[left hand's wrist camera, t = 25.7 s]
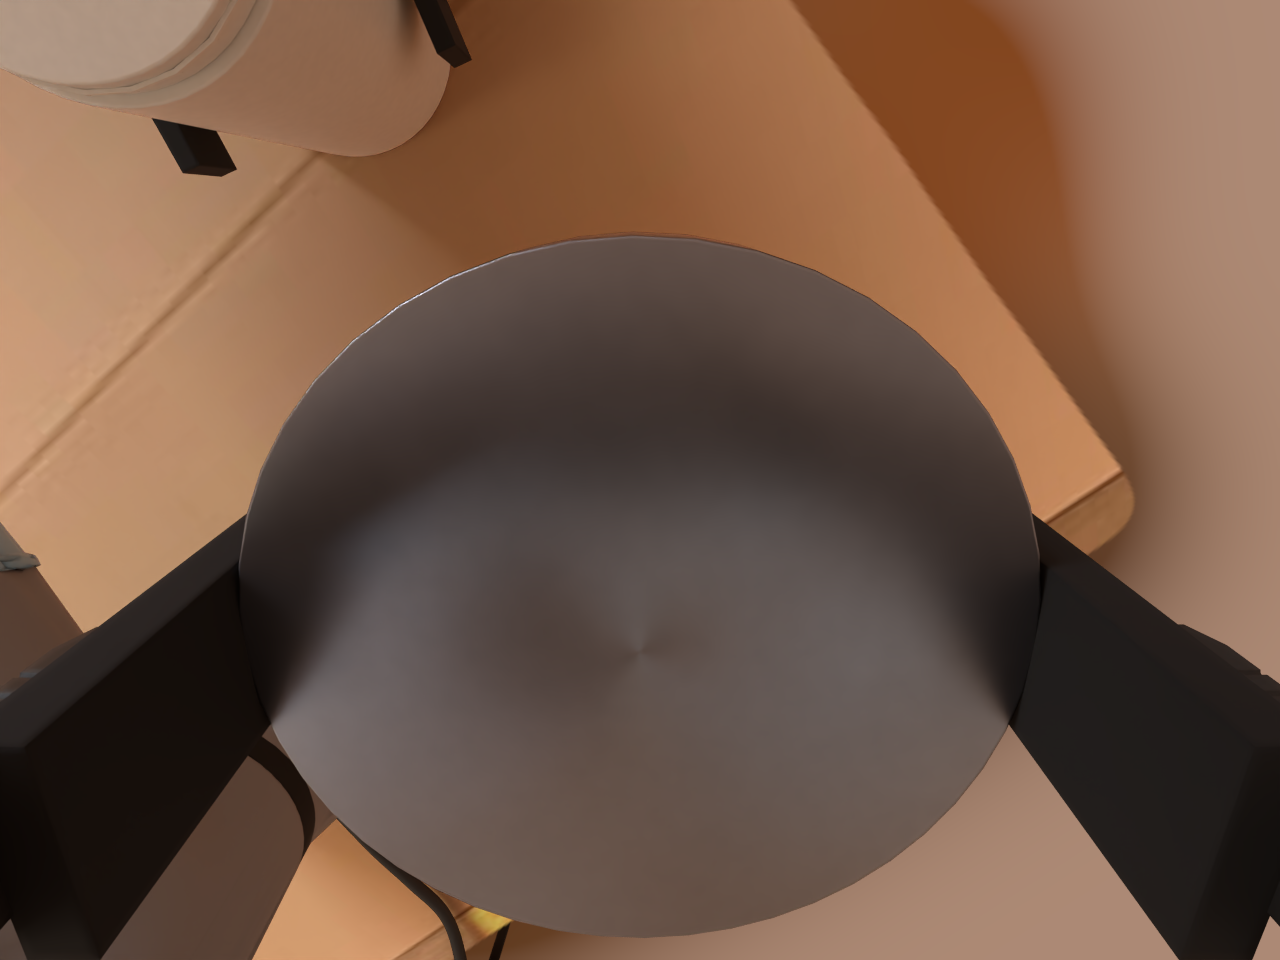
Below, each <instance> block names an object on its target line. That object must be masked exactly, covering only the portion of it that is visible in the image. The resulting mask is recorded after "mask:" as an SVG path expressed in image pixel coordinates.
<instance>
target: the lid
mask: <svg viewBox="0 0 1280 960" xmlns="http://www.w3.org/2000/svg"><path fill="white" fill-rule="evenodd" d="M1040 604H1041V590H1040V556H1039V549H1038V544H1037V539H1036V533H1035V528H1034V522H1033V517H1032V512H1031V506H1030V503H1029V500H1028V498H1027V495H1026V492H1025V489H1024V486H1023V484H1022V481H1021V478H1020V475H1019V472H1018V469H1017V467H1016V464H1015V461H1014V458H1013V456H1012V455H1011V453H1010V451H1009V449H1008V447H1007V445H1006V444H1005V442H1004V440H1003V438H1002V436H1001V434H1000V432H999V431H998V429H997V427H996V425H995V423H994V421H993V420H992V418H991V416H990V414H989V412H988V411H987V410H986V409H985V407H984V406H983V405H982V403H981V402H980V401H979V399H978V398H977V397H976V395H975V394H974V393H973V391H972V390H971V389H970V388H969V386H968V385H967V384H966V382H965V381H964V380H963V378H962V377H961V376H960V374H959V373H958V372H957V371H956V369H954V368H953V367H952V366H951V365H950V364H949V363H948V362H947V361H946V360H945V359H944V358H943V357H942V356H941V355H940V354H939V353H938V352H937V351H936V350H935V349H934V348H933V347H932V346H931V345H930V344H929V343H928V342H926V341H925V340H924V339H923V338H922V337H921V336H920V335H919V334H918V333H917V332H916V331H915V330H913V329H912V328H911V327H909V326H908V325H906V324H905V323H904V322H902V321H901V320H899V319H898V318H897V317H895V316H894V315H892V314H891V313H889V312H888V311H887V310H885V309H884V308H882V307H881V306H880V305H878V304H877V303H875V302H874V301H873V300H871V299H870V298H868V297H866V296H864V295H862V294H861V293H859V292H857V291H855V290H853V289H851V288H849V287H847V286H845V285H843V284H841V283H839V282H837V281H835V280H833V279H831V278H829V277H827V276H825V275H823V274H821V273H820V272H818V271H816V270H813V269H810V268H807V267H804V266H801V265H798V264H796V263H793V262H790V261H787V260H784V259H781V258H778V257H775V256H772V255H769V254H766V253H764V252H761V251H758V250H755V249H751V248H748V247H745V246H742V245H738V244H733V243H728V242H723V241H718V240H712V239H707V238H702V237H697V236H692V235H686V234H667V233H649V232H624V233H612V234H600V235H589V236H579V237H575V238H570V239H566V240H561V241H557V242H553V243H548V244H544V245H539V246H535V247H531V248H527V249H524V250H520V251H517V252H514V253H510V254H507V255H505V256H502V257H500V258H497V259H494V260H492V261H489V262H486V263H484V264H481V265H479V266H476V267H473V268H471V269H468V270H465V271H463V272H460V273H458V274H455V275H452V276H450V277H448V278H446V279H445V280H443V281H441V282H439V283H437V284H436V285H434V286H432V287H430V288H428V289H427V290H425V291H423V292H421V293H419V294H418V295H416V296H414V297H412V298H410V299H409V300H407V301H405V302H403V303H401V304H400V305H398V306H397V307H396V308H394V309H393V310H392V311H390V312H389V313H388V314H386V315H385V316H384V317H382V318H381V319H380V320H379V321H377V322H376V323H375V324H373V325H372V326H371V327H369V328H368V329H367V330H365V331H364V332H363V333H362V334H360V335H359V336H358V337H356V338H355V339H354V340H353V341H352V342H351V343H350V344H349V345H348V346H347V347H346V348H345V349H344V350H343V351H342V352H341V353H340V354H339V355H338V356H337V357H336V358H335V359H334V360H333V361H332V362H331V363H330V364H329V365H328V366H327V367H326V369H325V370H324V371H323V372H322V373H321V374H320V375H319V376H318V377H317V378H316V379H315V380H314V381H313V383H312V384H311V386H310V387H309V388H308V390H307V391H306V393H305V394H304V395H303V397H302V398H301V400H300V401H299V402H298V404H297V405H296V407H295V408H294V410H293V411H292V412H291V414H290V415H289V417H288V418H287V419H286V421H285V422H284V424H283V426H282V428H281V430H280V432H279V434H278V436H277V438H276V440H275V442H274V444H273V446H272V448H271V450H270V452H269V454H268V456H267V458H266V460H265V462H264V464H263V466H262V468H261V471H260V474H259V477H258V480H257V483H256V486H255V490H254V493H253V496H252V499H251V502H250V506H249V509H248V512H247V515H246V520H245V527H244V533H243V540H242V547H241V553H240V560H239V615H240V620H241V625H242V630H243V635H244V640H245V645H246V650H247V655H248V659H249V664H250V668H251V672H252V676H253V680H254V684H255V687H256V691H257V694H258V697H259V700H260V702H261V704H262V707H263V709H264V711H265V713H266V715H267V717H268V719H269V721H270V724H271V726H272V728H273V730H274V732H275V734H276V736H277V738H278V740H279V742H280V744H281V745H282V747H283V748H284V750H285V751H286V753H287V754H288V756H289V758H290V759H291V761H292V762H293V764H294V765H295V767H296V768H297V770H298V772H299V773H300V775H301V776H302V778H303V779H304V780H305V781H306V782H307V784H308V785H309V786H310V787H311V788H312V790H313V791H314V792H315V793H316V794H317V795H318V797H319V798H320V799H321V800H322V801H323V803H324V804H325V805H326V806H327V807H328V809H329V810H330V811H331V812H332V813H333V814H334V815H335V816H336V817H338V818H339V819H340V820H341V821H342V822H343V823H344V824H345V825H346V826H347V827H348V828H349V829H350V830H351V831H352V832H354V833H355V834H356V835H357V836H358V837H359V838H360V839H361V840H362V841H363V842H365V843H366V844H367V845H369V846H370V847H371V848H373V849H374V850H375V851H377V852H378V853H379V854H381V855H382V856H384V857H385V858H386V859H388V860H389V861H390V862H392V863H393V864H394V865H396V866H397V867H399V868H400V869H402V870H404V871H405V872H407V873H409V874H411V875H412V876H414V877H416V878H417V879H419V880H421V881H422V882H424V883H426V884H428V885H429V886H431V887H433V888H434V889H436V890H439V891H441V892H443V893H445V894H447V895H450V896H452V897H454V898H456V899H458V900H461V901H463V902H465V903H467V904H469V905H472V906H474V907H477V908H480V909H483V910H486V911H489V912H491V913H494V914H497V915H500V916H503V917H506V918H509V919H512V920H515V921H520V922H524V923H528V924H532V925H537V926H541V927H545V928H550V929H554V930H559V931H566V932H573V933H581V934H589V935H596V936H610V937H638V938H649V937H666V936H683V935H693V934H699V933H705V932H712V931H719V930H725V929H731V928H735V927H739V926H743V925H747V924H751V923H755V922H759V921H763V920H766V919H771V918H774V917H777V916H780V915H782V914H785V913H788V912H791V911H793V910H796V909H799V908H801V907H804V906H807V905H810V904H813V903H815V902H817V901H819V900H821V899H823V898H825V897H827V896H829V895H832V894H834V893H836V892H838V891H840V890H842V889H844V888H846V887H848V886H850V885H852V884H854V883H856V882H857V881H859V880H861V879H862V878H864V877H865V876H867V875H869V874H870V873H872V872H873V871H875V870H877V869H878V868H880V867H882V866H883V865H885V864H886V863H888V862H889V861H891V860H892V859H894V858H895V857H896V856H897V855H899V854H900V853H901V852H903V851H904V850H905V849H906V848H908V847H909V846H910V845H911V844H913V843H914V842H915V841H916V840H918V839H919V838H920V837H922V836H923V835H924V834H925V833H926V832H927V831H928V830H929V829H930V828H931V827H932V826H933V825H934V824H935V823H936V822H937V821H938V820H939V819H940V818H941V817H942V816H943V815H944V814H945V813H946V812H947V811H949V809H950V808H951V807H953V806H954V805H955V804H956V802H957V801H958V800H959V799H960V797H961V796H962V795H963V794H964V792H965V791H966V790H967V788H968V787H969V786H970V785H971V783H972V782H973V781H974V780H975V778H976V777H977V776H978V775H979V773H980V772H981V771H982V770H983V768H984V766H985V765H986V763H987V761H988V760H989V758H990V756H991V755H992V753H993V751H994V750H995V748H996V746H997V745H998V743H999V741H1000V740H1001V738H1002V737H1003V735H1004V733H1005V731H1006V729H1007V727H1008V725H1009V722H1010V720H1011V718H1012V715H1013V713H1014V711H1015V709H1016V706H1017V704H1018V702H1019V699H1020V697H1021V695H1022V692H1023V690H1024V686H1025V682H1026V678H1027V673H1028V669H1029V665H1030V660H1031V656H1032V652H1033V647H1034V642H1035V637H1036V632H1037V627H1038V621H1039V612H1040Z"/></svg>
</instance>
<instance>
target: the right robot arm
mask: <svg viewBox="0 0 1280 960" xmlns="http://www.w3.org/2000/svg"><path fill="white" fill-rule="evenodd" d="M414 2H415V4H416V7H417V9H418V11H419V14H420V16H421V18H422V20H423V23H424V25H425V27H426V30H427V32H428V34H429V37H430V39H431V41H432V44H433V46H434V48H435V50H436V53H437V54H438V55H439V56H440V57H442V58H443V59H444V60H445V61H447V62H448V63H449V64H450V65H452V66H453V67H454V68H455V67H458V66H460V65H462V64H464V63H466V62H468V61H470V60H472V59H471V57H470V54H469V52H468V50H467V47H466V45H465V43H464V40H463V38H462V35H461V33H460V31H459V28H458V26H457V24H456V21H455V19H454V16H453V14H452V12H451V9H450V7H449V4H448V2H447V0H414ZM152 119H153V121H154V123H155V125H156V126H157V128H158V130H159V132H160V133H161V135H162V137H163V139H164V141H165V142H166V144H167V146H168V148H169V149H170V151H171V153H172V155H173V156H174V158H175V160H176V162H177V164H178V165H179V167H180V169H181V171H182V172H183V173H187V174H198V175H209V176H220V177H222V176H224V175H226V174H228V173H230V172H232V171H235V170H237V168H236V166H235V165H234V163H233V161H232V159H231V157H230V155H229V154H228V152H227V150H226V148H225V146H224V144H223V142H222V141H221V139H220V137H219V135H218V133H217V131H215V130H210V129H205V128H200V127H195V126H190V125H185V124H180V123H175V122H170V121H165V120H160V119H155V118H152Z"/></svg>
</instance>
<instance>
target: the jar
mask: <svg viewBox="0 0 1280 960" xmlns="http://www.w3.org/2000/svg"><path fill="white" fill-rule="evenodd" d="M0 68H1V69H3V70H5V71H8V72H10V73H12V74H14V75H16V76H18V77H20V78H22V79H24V80H25V81H27V82H29V83H31V84H33V85H34V86H36V87H38V88H40V89H43V90H45V91H48V92H50V93H52V94H55V95H57V96H60V97H62V98H65V99H68V100H72V101H75V102H79V103H83V104H86V105H90V106H95V107H100V108H105V109H110V110H115V111H120V112H125V113H130V114H135V115H140V116H145V117H150V118H155V119H160V120H165V121H170V122H175V123H180V124H185V125H190V126H195V127H200V128H205V129H210V130H215V131H220V132H225V133H230V134H235V135H240V136H245V137H250V138H255V139H260V140H265V141H270V142H275V143H280V144H285V145H290V146H295V147H300V148H305V149H310V150H315V151H320V152H325V153H330V154H335V155H341V156H349V157H363V156H370V155H377V154H380V153H383V152H386V151H389V150H392V149H394V148H396V147H398V146H400V145H402V144H403V143H405V142H406V141H408V140H409V139H411V138H412V137H413V136H414V135H415V134H416V133H418V132H419V131H420V130H421V129H422V128H423V127H424V125H425V124H426V123H427V122H428V121H429V119H430V118H431V117H432V115H433V113H434V112H435V110H436V108H437V107H438V105H439V103H440V101H441V98H442V96H443V94H444V91H445V88H446V84H447V81H448V77H449V72H450V64H449V63H448V62H447V61H445V60H444V59H443V58H442V57H440V56H439V55H438V54H437V53H436V50H435V48H434V46H433V44H432V41H431V39H430V37H429V34H428V32H427V30H426V27H425V25H424V23H423V20H422V18H421V16H420V14H419V11H418V9H417V7H416V4H415V2H414V0H0Z"/></svg>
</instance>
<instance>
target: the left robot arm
mask: <svg viewBox="0 0 1280 960" xmlns="http://www.w3.org/2000/svg"><path fill="white" fill-rule="evenodd" d="M246 515H247V514H246ZM246 515H244V516H243V517H242V518H241V519H239V520H238V521H237V522H235V523H234V524H233V525H231V526H230V527H229V528H227V529H226V530H225V531H224V532H222V533H221V534H220V535H218V536H217V537H216V538H214V539H213V540H212V541H210V542H209V543H208V544H206V545H205V546H204V547H203V548H201V549H200V550H199V551H197V552H196V553H195V554H193V555H192V556H191V557H189V558H188V559H187V560H186V561H184V562H183V563H182V564H180V565H179V566H178V567H176V568H175V569H174V570H172V571H171V572H170V573H168V574H167V575H166V576H165V577H163V578H162V579H161V580H159V581H158V582H157V583H155V584H154V585H153V586H151V587H150V588H149V589H148V590H146V591H145V592H144V593H142V594H141V595H140V596H138V597H137V598H136V599H134V600H133V601H132V602H130V603H129V604H128V605H127V606H125V607H124V608H123V609H121V610H120V611H119V612H117V613H116V614H115V615H113V616H112V617H111V618H110V619H108V620H107V621H106V622H104V623H103V624H102V625H100V626H99V627H96V628H94V629H92V630H90V631H88V632H86V633H83V632H82V631H81V629H80V628H79V626H78V625H77V624H76V622H75V621H74V620H73V618H72V617H71V615H70V614H69V613H68V611H67V610H66V608H65V607H64V606H63V604H62V603H61V601H60V600H59V599H58V597H57V596H56V595H55V593H54V592H53V590H52V589H51V588H50V586H49V585H48V583H47V582H46V581H45V579H44V578H43V576H42V575H41V574H40V572H39V571H38V570H37V568H36V567H37V566H40V565H41V564H40V562H39V560H38V558H37V557H36V556H35V555H33V554H28V553H25V552H24V551H23V550H22V548H21V547H20V546H19V545H18V543H17V542H16V541H15V540H14V539H13V537H12V536H11V535H10V534H9V532H8V531H7V530H6V529H5V527H4V526H3V525H2V524H1V523H0V960H252V959H253V957H254V955H255V953H256V951H257V949H258V947H259V945H260V943H261V941H262V939H263V937H264V935H265V933H266V931H267V929H268V927H269V925H270V923H271V921H272V919H273V917H274V915H275V913H276V911H277V909H278V907H279V905H280V903H281V901H282V899H283V897H284V895H285V893H286V891H287V889H288V887H289V885H290V883H291V881H292V879H293V877H294V875H295V873H296V871H297V869H298V866H299V864H300V862H301V860H302V858H303V856H304V854H305V853H306V851H307V849H308V847H309V845H310V843H311V842H312V841H313V840H314V839H315V838H316V837H317V836H319V835H320V834H321V833H322V832H323V831H324V830H325V829H326V828H327V827H328V826H329V825H330V824H331V823H332V822H333V821H335V820H336V819H338V821H339V822H340V823H341V824H342V825H343V826H344V827H345V828H346V829H347V830H348V831H349V832H350V833H351V834H352V835H353V836H354V837H355V838H356V839H357V840H358V841H359V843H360V844H361V845H362V846H363V847H364V848H365V849H366V850H367V851H368V852H369V853H370V854H371V855H372V856H373V857H375V858H376V859H377V860H378V861H379V862H380V863H381V864H382V865H383V866H384V867H385V868H387V869H388V870H389V871H390V872H391V873H392V874H393V875H394V876H396V877H397V878H398V879H399V880H400V881H401V882H402V883H403V884H404V885H406V886H407V887H408V888H409V889H410V890H411V891H412V892H413V893H414V894H415V895H417V896H418V897H419V898H420V899H421V900H422V901H424V902H425V903H426V904H427V905H428V906H429V907H430V908H431V909H432V910H433V911H434V912H435V913H436V914H437V916H438V917H439V918H440V920H441V921H442V923H443V925H444V927H445V929H446V931H447V934H448V937H449V940H450V943H451V947H452V951H453V955H454V960H467V958H466V954H465V949H464V945H463V941H462V937H461V934H460V931H459V928H458V926H457V923H456V921H455V919H454V917H453V915H452V914H451V912H450V910H449V909H448V907H447V906H446V904H445V903H444V902H443V901H442V900H441V899H440V898H439V897H438V896H437V895H436V894H435V893H434V892H433V891H432V890H431V889H430V888H428V887H427V886H426V885H425V884H424V883H423V882H421V881H420V880H419V879H417V878H416V877H414V876H412V875H411V874H409V873H407V872H405V871H404V870H402V869H400V868H399V867H397V866H396V865H394V864H393V863H392V862H390V861H389V860H388V859H386V858H385V857H384V856H382V855H381V854H379V853H378V852H377V851H375V850H374V849H373V848H371V847H370V846H369V845H367V844H366V843H365V842H363V841H362V840H361V839H360V838H359V837H358V836H357V835H356V834H355V833H354V832H352V831H351V830H350V829H349V828H348V827H347V826H346V825H345V824H344V823H343V822H342V821H341V820H340V819H339V818H338V817H336V816H335V815H334V814H333V813H332V812H331V811H330V810H329V809H328V807H327V806H326V805H325V804H324V803H323V801H322V800H321V799H320V798H319V797H318V795H317V794H316V793H315V792H314V791H313V790H312V788H311V787H310V786H309V785H308V784H307V782H306V781H305V780H304V779H303V778H302V776H301V775H300V773H299V772H298V770H297V768H296V767H295V765H294V764H293V762H292V761H291V759H290V758H289V756H288V754H287V753H286V751H285V750H284V748H283V747H282V745H281V744H280V742H279V740H278V738H277V736H276V734H275V732H274V730H273V728H272V726H271V724H270V721H269V719H268V717H267V715H266V713H265V711H264V709H263V707H262V704H261V702H260V700H259V697H258V694H257V691H256V687H255V684H254V680H253V676H252V672H251V668H250V664H249V659H248V655H247V650H246V645H245V640H244V635H243V630H242V625H241V620H240V615H239V560H240V553H241V547H242V540H243V533H244V527H245V520H246ZM1032 517H1033V522H1034V528H1035V533H1036V539H1037V544H1038V549H1039V556H1040V590H1041V604H1040V612H1039V621H1038V627H1037V632H1036V637H1035V642H1034V647H1033V652H1032V656H1031V660H1030V665H1029V669H1028V673H1027V678H1026V682H1025V686H1024V690H1023V692H1022V695H1021V697H1020V699H1019V702H1018V704H1017V706H1016V709H1015V711H1014V713H1013V715H1012V718H1011V720H1010V722H1009V725H1010V727H1011V728H1012V729H1013V731H1014V732H1015V734H1016V735H1017V736H1018V738H1019V739H1020V740H1021V742H1022V743H1023V745H1024V746H1025V747H1026V749H1027V750H1028V751H1029V753H1030V754H1031V756H1032V757H1033V758H1034V760H1035V761H1036V763H1037V764H1038V765H1039V767H1040V768H1041V769H1042V771H1043V772H1044V774H1045V775H1046V776H1047V778H1048V779H1049V781H1050V782H1051V783H1052V785H1053V786H1054V787H1055V789H1056V790H1057V792H1058V793H1059V794H1060V796H1061V797H1062V799H1063V800H1064V801H1065V803H1066V804H1067V805H1068V807H1069V808H1070V810H1071V811H1072V812H1073V814H1074V815H1075V817H1076V818H1077V819H1078V821H1079V822H1080V823H1081V825H1082V826H1083V828H1084V829H1085V830H1086V832H1087V833H1088V834H1089V836H1090V837H1091V839H1092V840H1093V841H1094V843H1095V844H1096V846H1097V847H1098V848H1099V850H1100V851H1101V853H1102V854H1103V855H1104V857H1105V858H1106V859H1107V861H1108V862H1109V864H1110V865H1111V866H1112V868H1113V869H1114V870H1115V872H1116V873H1117V875H1118V876H1119V877H1120V879H1121V880H1122V881H1123V883H1124V884H1125V886H1126V887H1127V889H1128V890H1129V891H1130V893H1131V894H1132V895H1133V897H1134V898H1135V900H1136V901H1137V902H1138V904H1139V905H1140V907H1141V908H1142V909H1143V911H1144V912H1145V913H1146V915H1147V916H1148V918H1149V919H1150V920H1151V922H1152V923H1153V924H1154V926H1155V927H1156V928H1157V930H1158V931H1159V933H1160V934H1161V936H1162V937H1163V938H1164V940H1165V941H1166V942H1167V944H1168V945H1169V947H1170V948H1171V949H1172V951H1173V952H1174V954H1175V955H1176V956H1177V958H1178V959H1179V960H1252V959H1253V957H1254V954H1255V952H1256V949H1257V947H1258V944H1259V942H1260V939H1261V937H1262V934H1263V932H1264V929H1265V927H1266V924H1267V922H1268V919H1269V917H1270V916H1271V917H1272V918H1273V919H1274V921H1275V922H1276V923H1277V924H1278V925H1279V926H1280V684H1279V683H1278V682H1276V681H1275V680H1273V679H1272V678H1271V677H1269V676H1268V675H1261V673H1260V669H1259V668H1257V667H1256V666H1254V665H1253V664H1252V663H1250V662H1249V661H1248V660H1246V659H1245V658H1244V657H1242V656H1241V655H1239V654H1238V653H1237V652H1235V651H1234V650H1233V649H1231V648H1230V647H1229V646H1227V645H1225V644H1223V643H1221V642H1219V641H1217V640H1215V639H1213V638H1211V637H1209V636H1206V635H1204V634H1202V633H1200V632H1198V631H1196V630H1194V629H1192V628H1190V627H1188V626H1186V625H1178V624H1176V623H1175V622H1174V621H1173V620H1171V619H1170V618H1169V617H1167V616H1166V615H1165V614H1163V613H1162V612H1161V611H1159V610H1158V609H1157V608H1156V607H1154V606H1153V605H1152V604H1150V603H1149V602H1148V601H1146V600H1145V599H1144V598H1142V597H1141V596H1140V595H1138V594H1137V593H1136V592H1135V591H1133V590H1132V589H1131V588H1129V587H1128V586H1127V585H1125V584H1124V583H1123V582H1121V581H1120V580H1119V579H1118V578H1116V577H1115V576H1114V575H1112V574H1111V573H1110V572H1108V571H1107V570H1106V569H1104V568H1103V567H1102V566H1101V565H1099V564H1098V563H1097V562H1095V561H1094V560H1093V559H1091V558H1090V557H1089V556H1087V555H1086V554H1085V553H1083V552H1082V551H1081V550H1080V549H1078V548H1077V547H1076V546H1074V545H1073V544H1072V543H1070V542H1069V541H1068V540H1066V539H1065V538H1064V537H1063V536H1061V535H1060V534H1059V533H1057V532H1056V531H1055V530H1053V529H1052V528H1051V527H1049V526H1048V525H1047V524H1045V523H1044V522H1043V521H1042V520H1040V519H1039V518H1038V517H1036V516H1035V515H1034V514H1032ZM510 923H511V921H510V922H509V923H507V924H505V925H504V926H502V927H501V928H499V929H498V932H497V935H496V939H495V942H494V945H493V948H492V951H491V954H490V957H489V960H499V959H500V956H501V953H502V949H503V946H504V943H505V939H506V936H507V933H508V930H509V926H510Z"/></svg>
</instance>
